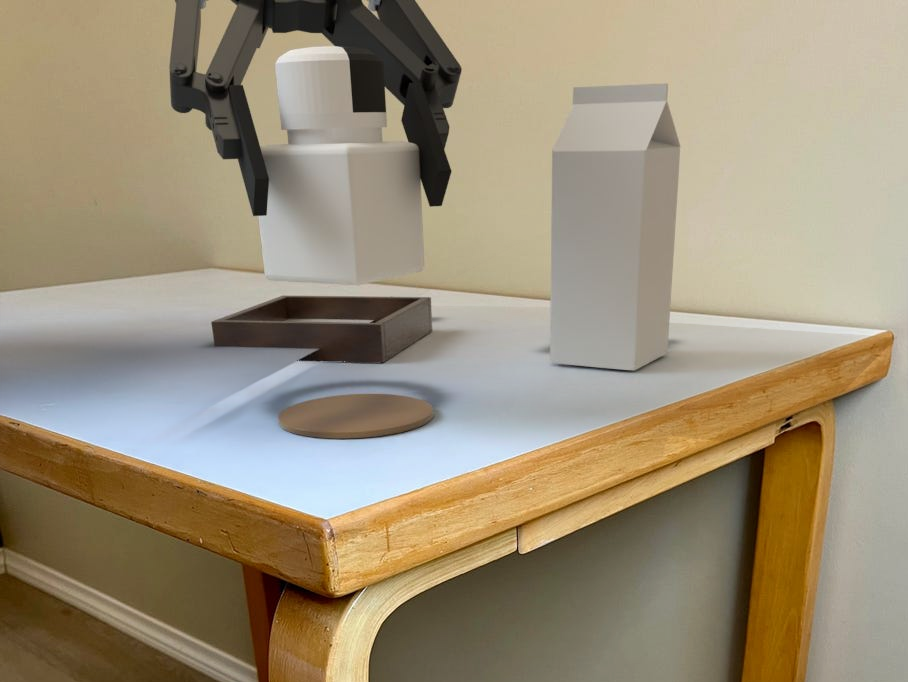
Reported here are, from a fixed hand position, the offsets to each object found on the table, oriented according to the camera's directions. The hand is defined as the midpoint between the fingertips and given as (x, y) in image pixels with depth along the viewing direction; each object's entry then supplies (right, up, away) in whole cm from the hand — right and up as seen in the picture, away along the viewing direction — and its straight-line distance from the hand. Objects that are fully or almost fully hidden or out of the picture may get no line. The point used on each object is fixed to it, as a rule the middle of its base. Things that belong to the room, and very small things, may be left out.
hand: (353, 193), depth 57 cm
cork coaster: (-1, -11, +9) cm, 14 cm away
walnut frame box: (-6, +1, +32) cm, 32 cm away
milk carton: (+17, -3, +23) cm, 29 cm away
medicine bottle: (-1, -3, +5) cm, 6 cm away
